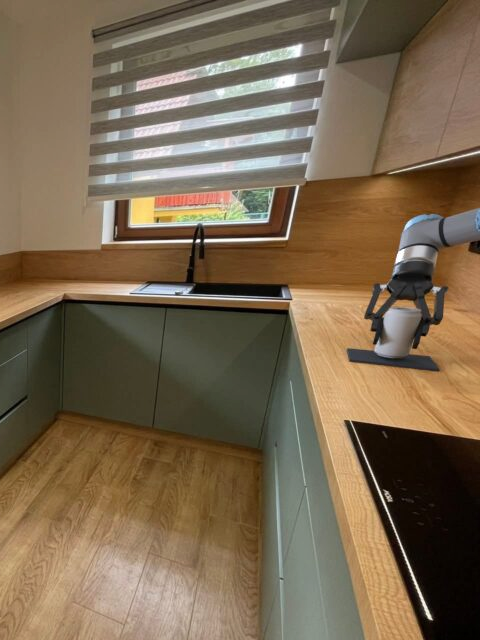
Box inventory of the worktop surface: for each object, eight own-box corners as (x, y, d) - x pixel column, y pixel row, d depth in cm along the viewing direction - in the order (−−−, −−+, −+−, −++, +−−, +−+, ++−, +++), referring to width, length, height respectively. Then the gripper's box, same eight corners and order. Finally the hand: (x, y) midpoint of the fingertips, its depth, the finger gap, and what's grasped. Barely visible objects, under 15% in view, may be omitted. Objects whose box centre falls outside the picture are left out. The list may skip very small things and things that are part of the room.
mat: (428, 358, 108) (429, 356, 108) (439, 371, 100) (439, 369, 99) (346, 350, 118) (347, 348, 117) (349, 361, 109) (349, 359, 109)
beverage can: (401, 353, 110) (416, 306, 105) (412, 360, 104) (429, 311, 100) (369, 351, 112) (382, 305, 108) (378, 358, 107) (393, 310, 103)
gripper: (464, 279, 106) (447, 358, 101) (361, 276, 119) (341, 346, 113) (475, 259, 101) (458, 341, 95) (365, 258, 113) (345, 330, 108)
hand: (395, 343), depth 104 cm, fingers closed on beverage can, 6 cm apart
